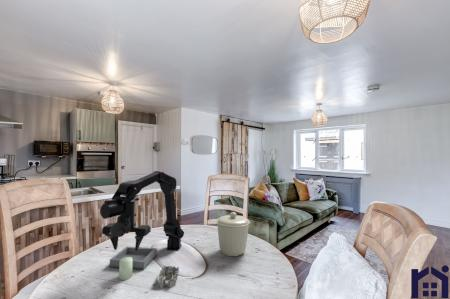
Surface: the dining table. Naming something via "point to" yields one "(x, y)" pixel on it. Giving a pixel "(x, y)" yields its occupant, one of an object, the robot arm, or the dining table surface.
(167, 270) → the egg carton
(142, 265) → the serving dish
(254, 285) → the dining table surface
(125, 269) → the pale green cylinder
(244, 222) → the canister
